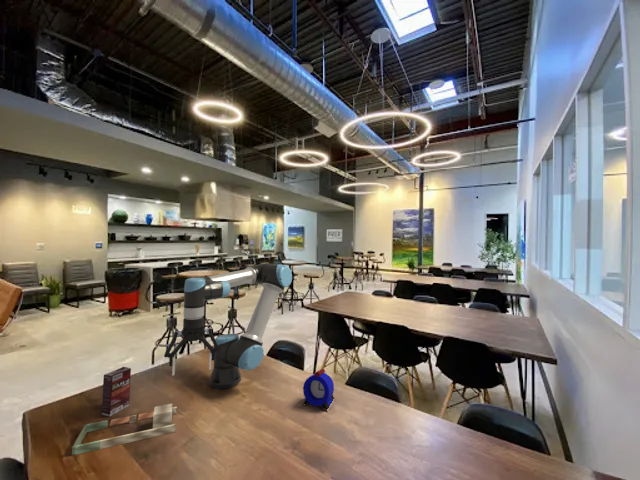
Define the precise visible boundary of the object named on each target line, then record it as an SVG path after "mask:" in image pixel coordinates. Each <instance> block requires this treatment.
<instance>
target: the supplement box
mask: <svg viewBox="0 0 640 480" xmlns="http://www.w3.org/2000/svg"><path fill="white" fill-rule="evenodd" d="M131 372H132V368H131V367H126V366H122V367H120V368H117V369H114V370H112V371H110V372H108V373H105V374H103V384H102V399H101V401H102V402H101V415H102V416H106V417H111V416H113V415H115V414H117V413H120V411H122V410H124V409H126V408H127V407H129V406H130V393H131V375H132V373H131Z"/></svg>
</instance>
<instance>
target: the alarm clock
mask: <svg viewBox="0 0 640 480" xmlns="http://www.w3.org/2000/svg"><path fill="white" fill-rule="evenodd" d="M334 391H335V385H334V381H333V379H332V377H331V376H330V375H328V373H326V370H325V368H321V369H319V370H317V371H316V372H314V373H313V374H312V375H310V376H309V377H307V378H306V379H305V381H304V383H303V386H302V392H303V396H304V399H305V400H304V401H303V403H302V405H303V404H305V405H304V406H307V405H312V406H314V407H320V408H321V409H323V410H325V409H326V410H327V409H328V408H329V406H330V404H331V403H332V401H333V399H335V397H334ZM326 410H325V411H326Z"/></svg>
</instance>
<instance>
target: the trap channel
mask: <svg viewBox="0 0 640 480" xmlns="http://www.w3.org/2000/svg"><path fill="white" fill-rule="evenodd" d="M177 408H178V407H177V406H172V416H173V415H177ZM153 414H154V410H152V411H150V412H148V411H147V412H143V413H139V414H138V417H137V414H133V415H129V416H123V417H118V418H114V419H111V421H110V423H108V421H109V420H108V419H106V420H100V421H97V422H91V423H86V424H84V426H83V428H82V429H81V431H80V433H79V434H78V436H77V438H76V439H75V441H74V443H73V445H72V447H71V456H76V455H80V454H84V453H85V454H86V453H89V452H93V451H97V450H103V449H107V448H111V447H116V446H119V445H125V444H129V443H132V442H138V441H141V440H147V439H150V438H155V437H158V436H165V435H168V434H172V433H175V432H176V423H173V424H172V423H171V425H168V426H163V427H159V428H154V429H153V428H150V429H147V430H146V429H145V430H142V431H141V430H140V431H136V432H132V433H128V434H123V435H118V436H113V437H109V438H105V439H99V440H95V441H91V442H86V443H83V440H84V438H85V436H86V435H87V433H90V432H95V431H100V430H106V429H108V425H109V427H113V426H118V425H123V424H134V423H136V422H137V421H142V420H147V419H153Z"/></svg>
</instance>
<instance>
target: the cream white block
mask: <svg viewBox="0 0 640 480" xmlns="http://www.w3.org/2000/svg"><path fill="white" fill-rule="evenodd" d="M172 407H173V403H168V404H163V405H157V406H154V409H153V411H154V414H153V418H152V429H154V428H159V427H163V426H168V425H172V419H173V415H172Z"/></svg>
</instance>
